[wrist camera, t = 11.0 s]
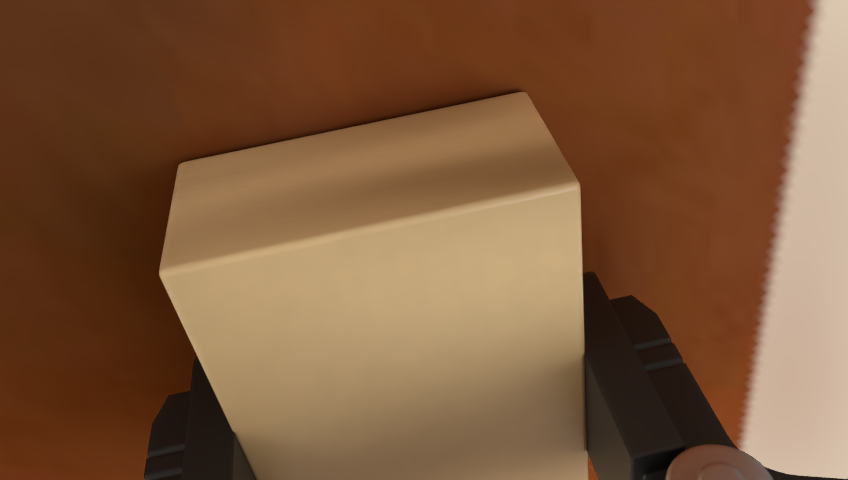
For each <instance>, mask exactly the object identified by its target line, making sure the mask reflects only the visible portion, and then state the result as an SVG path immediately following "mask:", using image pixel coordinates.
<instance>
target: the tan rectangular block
mask: <svg viewBox="0 0 848 480" xmlns="http://www.w3.org/2000/svg"><path fill="white" fill-rule="evenodd" d="M159 276H160V278H161V280H162V282H163V284H164V287H165V289H166V291H167V293H168V295H169V297H170V299H171V301H172V304H173V306H174V308H175V310H176V312H177V314H178V316H179V318H180V321H181V323H182V325H183V327H184V329H185V331H186V333H187V335H188V337H189V340H190V342H191V344H192V346H193V348H194V350H195V352H196V354H197V357H198V359H199V361H200V363H201V365H202V367H203V369H204V371H205V374H206V376H207V378H208V380H209V382H210V384H211V386H212V388H213V390H214V393H215V395H216V397H217V399H218V401H219V403H220V405H221V407H222V410H223V412H224V414H225V416H226V418H227V420H228V422H229V424H230V427H231V429H232V431H233V432H235V434H236V437H237V439H238V441H239V443H240V445H241V447H242V449H243V452H244V454H245V456H246V458H247V460H248V462H249V464H250V466H251V469H252V471H253V473H254V475H255V477H256V479H257V480H588V452H587V428H586V392H585V355H584V353H585V339H584V302H583V265H582V228H581V191H580V184H579V182H578V180H577V178H576V177H575V175H574V173H573V171H572V170H571V168H570V166H569V165H568V163H567V161H566V159H565V158H564V156H563V154H562V153H561V151H560V149H559V147H558V146H557V144H556V142H555V141H554V139H553V137H552V135H551V134H550V132H549V130H548V129H547V127H546V125H545V123H544V122H543V120H542V118H541V117H540V115H539V113H538V111H537V110H536V108H535V106H534V105H533V103H532V101H531V99H530V98H529V96H528V94H527V93H526V92H517V93H512V94H508V95H503V96H498V97H493V98H489V99H484V100H479V101H474V102H469V103H465V104H460V105H455V106H450V107H445V108H441V109H436V110H431V111H426V112H421V113H417V114H412V115H407V116H402V117H397V118H393V119H388V120H383V121H378V122H373V123H369V124H364V125H359V126H354V127H349V128H345V129H340V130H335V131H330V132H325V133H321V134H316V135H311V136H306V137H301V138H297V139H292V140H287V141H282V142H278V143H273V144H268V145H263V146H258V147H254V148H249V149H244V150H239V151H234V152H230V153H225V154H220V155H215V156H210V157H206V158H201V159H196V160H191V161H186V162H183V163H181V164H180V165H178V170H177V176H176V181H175V187H174V192H173V198H172V203H171V209H170V214H169V219H168V225H167V230H166V236H165V241H164V247H163V252H162V258H161V263H160V269H159Z"/></svg>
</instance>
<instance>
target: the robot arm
mask: <svg viewBox="0 0 848 480" xmlns="http://www.w3.org/2000/svg"><path fill="white" fill-rule="evenodd" d="M583 302H584V339H585V353H584V355H585V392H586V428H587V452H588V454H589V457H590V459H591V462H592V464H593V467H594V469H595V472H596V474H597V477H598V479H599V480H848V479H837V478H822V477H809V476H797V475H789V474H785V473H781V472H777V471H774V470H771V469H769V468H766V467H764V466H763V465H762V464H761V463H760V462H758V461H757V460H756V459H754V458H753V457H752V456H750V455H748V454H747V453H745V452H743V451H740V450H739V449H738V448H737V447H736V446H735V445H734V444H733V443H732V441H731V440H730V438H729V437H728V435H727V434H726V432H725V430H724V429H723V427H722V425H721V423H720V422H719V420H718V418H717V417H716V415H715V413H714V411H713V410H712V408H711V406H710V405H709V403H708V401H707V399H706V398H705V396H704V394H703V393H702V391H701V389H700V387H699V386H698V384H697V382H696V381H695V379H694V377H693V376H692V374H691V372H690V370H689V369H688V367H687V365H686V364H684V363H683V360H682V357H681V355H680V353H679V352H678V350H677V348H676V346H675V345H674V343H672V342H671V338H670V336H669V334H668V333H667V331H666V329H665V328H664V326H663V324H662V323H661V321H660V319H659V317H658V316H657V314H656V313H655V312H653V311H652V310H651V309H649V308H648V307H647V306H645V305H644V304H643V303H641V302H640V301H639V300H637V299H636V298H635V297H633V296H632V295H630V296H626V297H621V298H617V299H612V300H609V299H608V297H607V295H606V293H605V291H604V289H603V287H602V285H601V283H600V281H599V280H598V278H597V276H596V275H595V273H594V272H592V271H591V272H586V273H583ZM148 456H149V458H148V459H147V461H146V467H145V474H144V478H145V480H257V479H256V477H255V475H254V473H253V471H252V469H251V466H250V464H249V462H248V460H247V458H246V456H245V454H244V452H243V449H242V447H241V445H240V443H239V441H238V439H237V437H236V434H235V432H233V431H232V429H231V427H230V424H229V422H228V420H227V418H226V416H225V414H224V412H223V410H222V407H221V405H220V403H219V401H218V399H217V397H216V395H215V393H214V390H213V388H212V386H211V384H210V382H209V380H208V378H207V376H206V374H205V371H204V369H203V367H202V365H201V363H200V361H199V359H198V357H196V358H195V360H194V365H193V373H192V383H191V391H188V392H183V393H178V394H174V395H169V396H168V398H167V400H166V401H165V403H164V405H163V407H162V408H161V410H160V412H159V413H158V415H157V417H156V418H155V420H154V422H153V423H152V428H151V434H150V441H149V447H148Z"/></svg>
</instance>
